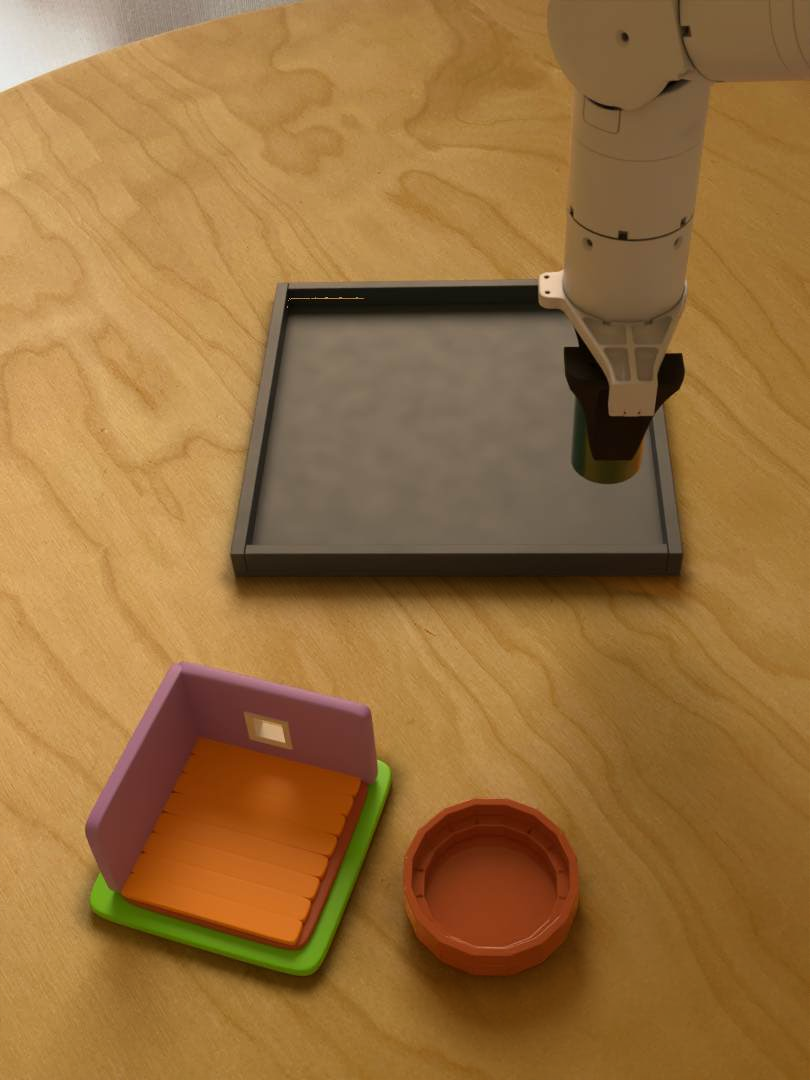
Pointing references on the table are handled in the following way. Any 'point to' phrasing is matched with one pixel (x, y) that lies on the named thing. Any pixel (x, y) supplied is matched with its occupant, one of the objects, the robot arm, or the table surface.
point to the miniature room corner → (239, 818)
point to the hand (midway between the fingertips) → (609, 426)
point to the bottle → (591, 468)
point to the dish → (491, 886)
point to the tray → (435, 443)
